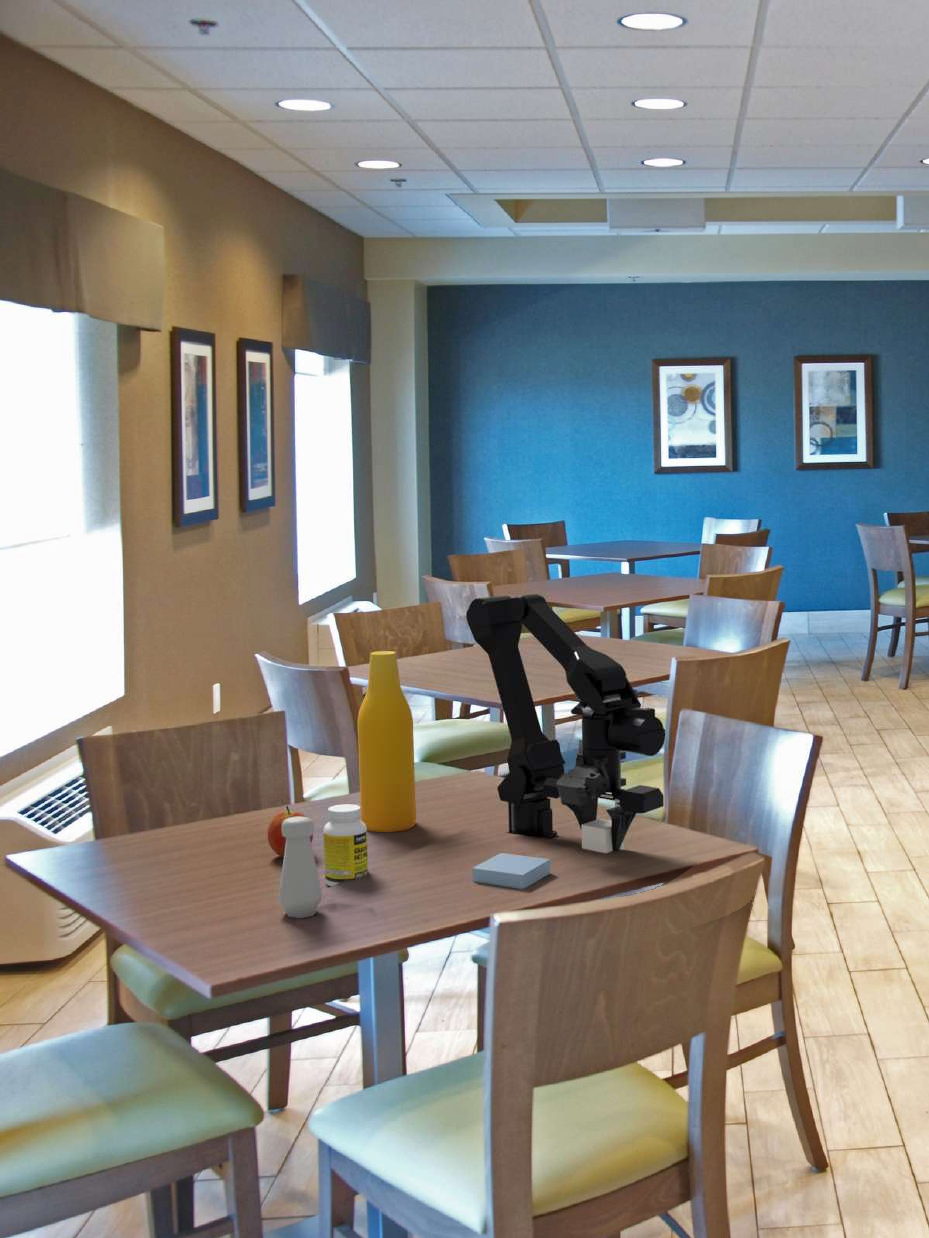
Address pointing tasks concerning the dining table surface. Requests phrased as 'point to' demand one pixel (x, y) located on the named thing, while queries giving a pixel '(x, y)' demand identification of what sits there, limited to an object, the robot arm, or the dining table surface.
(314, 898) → the salt shaker
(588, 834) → the cream block
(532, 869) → the slate slab
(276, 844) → the fruit
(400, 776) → the beer bottle
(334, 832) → the pill bottle
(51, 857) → the dining table surface
